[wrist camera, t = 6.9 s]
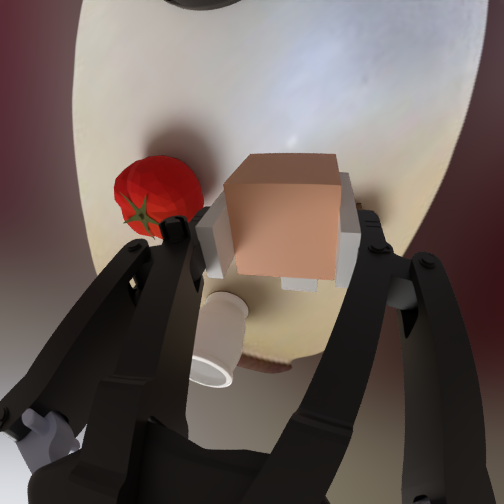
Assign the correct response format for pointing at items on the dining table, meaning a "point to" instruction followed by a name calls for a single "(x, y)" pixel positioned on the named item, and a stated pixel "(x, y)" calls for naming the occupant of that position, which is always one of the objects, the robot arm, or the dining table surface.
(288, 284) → the grey cube
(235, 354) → the jar
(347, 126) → the dining table surface
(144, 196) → the tomato
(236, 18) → the dining table surface
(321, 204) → the terracotta cube
